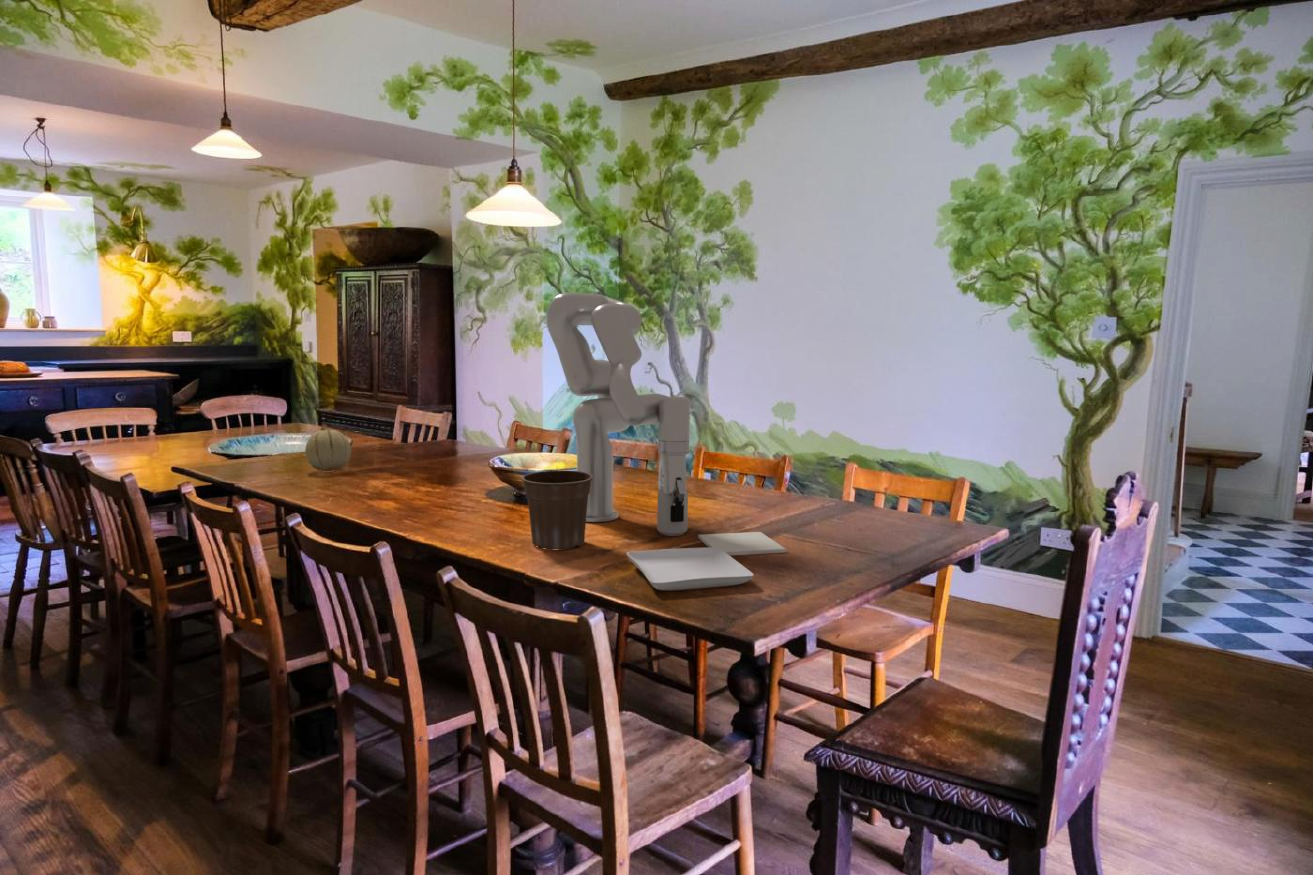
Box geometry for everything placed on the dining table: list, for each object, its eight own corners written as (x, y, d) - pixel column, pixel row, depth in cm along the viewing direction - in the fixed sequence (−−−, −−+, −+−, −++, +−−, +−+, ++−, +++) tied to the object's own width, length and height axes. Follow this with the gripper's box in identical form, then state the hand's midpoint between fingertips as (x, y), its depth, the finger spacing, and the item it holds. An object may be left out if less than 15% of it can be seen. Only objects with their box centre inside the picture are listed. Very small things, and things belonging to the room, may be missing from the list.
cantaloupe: (330, 477, 268) (328, 432, 266) (296, 473, 273) (294, 429, 271) (361, 470, 282) (360, 427, 280) (328, 466, 287) (326, 424, 285)
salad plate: (756, 590, 159) (756, 573, 159) (652, 599, 153) (652, 581, 152) (717, 560, 179) (718, 545, 179) (624, 567, 173) (624, 551, 173)
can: (688, 529, 204) (689, 483, 203) (686, 537, 197) (687, 488, 195) (658, 528, 205) (659, 482, 204) (655, 536, 198) (656, 487, 196)
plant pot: (526, 555, 179) (525, 483, 177) (518, 537, 195) (518, 471, 193) (598, 551, 184) (599, 481, 182) (585, 533, 199) (585, 469, 197)
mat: (718, 556, 181) (719, 552, 181) (698, 538, 196) (698, 534, 196) (785, 552, 185) (785, 548, 185) (760, 534, 200) (760, 531, 200)
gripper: (650, 442, 206) (649, 510, 208) (667, 452, 189) (666, 526, 191) (679, 442, 207) (677, 509, 210) (698, 452, 191) (697, 525, 193)
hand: (672, 517), depth 201 cm, fingers closed on can, 7 cm apart
